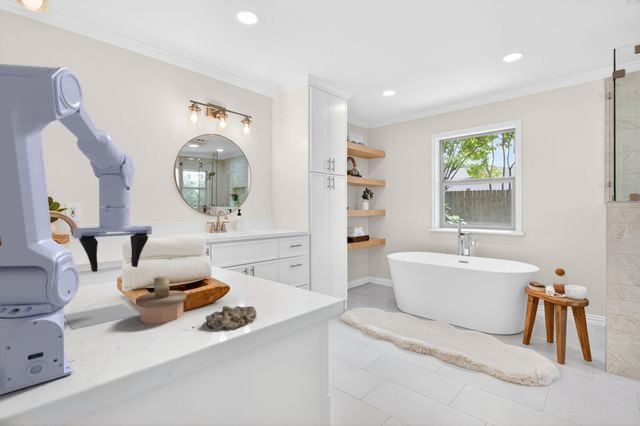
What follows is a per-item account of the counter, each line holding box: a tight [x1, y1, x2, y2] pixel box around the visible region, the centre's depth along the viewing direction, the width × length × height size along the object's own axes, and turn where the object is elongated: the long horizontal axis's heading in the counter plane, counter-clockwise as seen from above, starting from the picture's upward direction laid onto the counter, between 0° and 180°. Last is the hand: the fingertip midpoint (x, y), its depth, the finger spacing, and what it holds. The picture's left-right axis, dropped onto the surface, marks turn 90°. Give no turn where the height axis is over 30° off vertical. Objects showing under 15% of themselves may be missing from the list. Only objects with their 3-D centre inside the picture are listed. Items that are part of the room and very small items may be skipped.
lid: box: [135, 276, 187, 308], centre depth 67 cm, size 10×10×5 cm
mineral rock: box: [205, 305, 257, 331], centre depth 66 cm, size 11×4×8 cm
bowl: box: [139, 301, 184, 324], centre depth 67 cm, size 8×8×4 cm
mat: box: [64, 303, 138, 330], centre depth 68 cm, size 11×11×1 cm
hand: (115, 268), depth 70 cm, fingers open, 7 cm apart
